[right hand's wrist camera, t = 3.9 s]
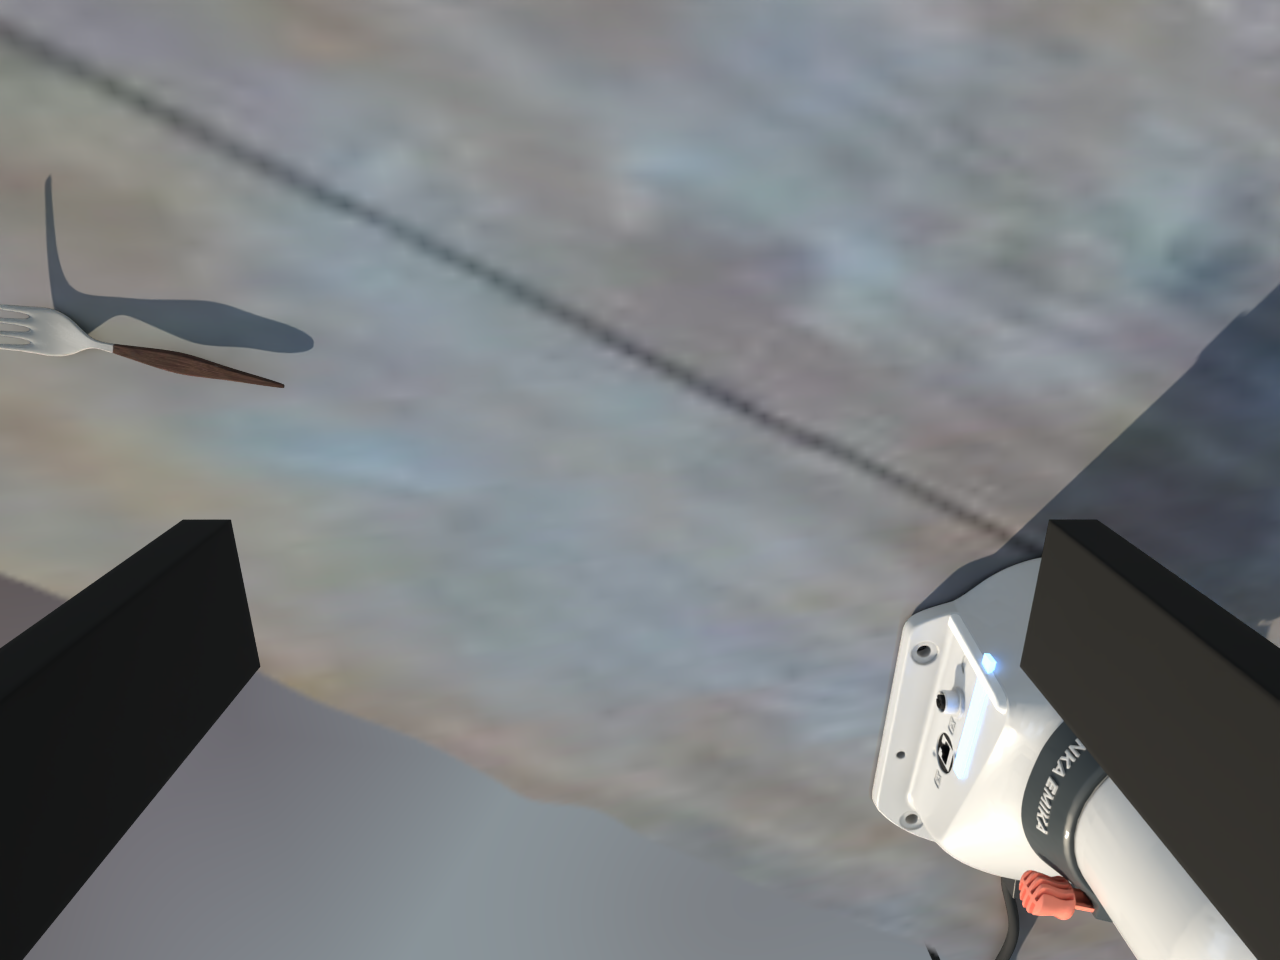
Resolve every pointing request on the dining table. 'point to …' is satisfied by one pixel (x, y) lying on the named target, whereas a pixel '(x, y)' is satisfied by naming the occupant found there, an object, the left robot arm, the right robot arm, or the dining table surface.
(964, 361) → the dining table surface
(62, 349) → the fork
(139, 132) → the dining table surface
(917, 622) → the left robot arm
